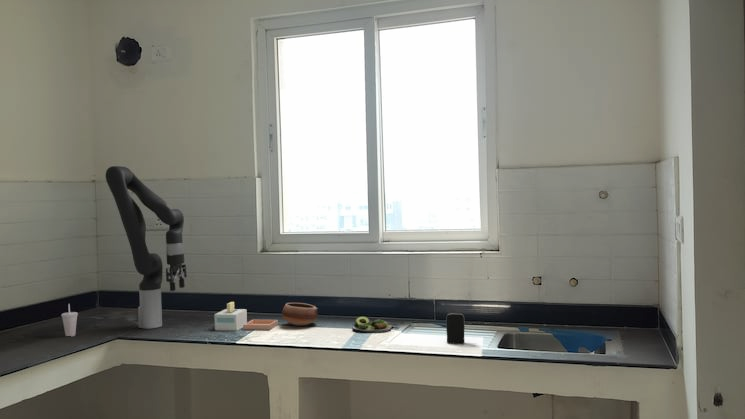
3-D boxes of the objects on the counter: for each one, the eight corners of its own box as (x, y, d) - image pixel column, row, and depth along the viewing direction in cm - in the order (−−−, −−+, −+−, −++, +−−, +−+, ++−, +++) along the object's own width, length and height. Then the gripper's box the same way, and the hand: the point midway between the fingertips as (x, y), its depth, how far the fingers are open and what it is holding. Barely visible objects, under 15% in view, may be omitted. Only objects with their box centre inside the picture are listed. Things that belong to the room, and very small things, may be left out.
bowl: (321, 327, 266) (321, 304, 266) (287, 330, 260) (286, 307, 260) (312, 320, 281) (311, 298, 280) (278, 323, 275) (278, 301, 274)
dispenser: (214, 330, 264) (214, 313, 264) (226, 324, 276) (225, 308, 276) (236, 330, 263) (236, 313, 262) (246, 324, 275) (246, 308, 274)
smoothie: (60, 338, 257) (59, 305, 256) (64, 334, 263) (62, 302, 263) (77, 336, 259) (75, 304, 258) (80, 333, 265) (78, 301, 264)
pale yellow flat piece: (227, 324, 267) (226, 303, 267) (231, 321, 272) (231, 301, 272) (230, 324, 267) (229, 303, 267) (234, 321, 272) (234, 301, 272)
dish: (243, 329, 264) (243, 324, 264) (252, 324, 275) (252, 319, 275) (269, 330, 262) (269, 325, 262) (277, 324, 273) (277, 319, 273)
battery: (465, 341, 234) (464, 312, 234) (464, 344, 230) (464, 314, 230) (447, 341, 236) (446, 312, 235) (446, 343, 232) (445, 314, 232)
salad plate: (399, 324, 269) (398, 314, 269) (396, 334, 251) (396, 323, 251) (355, 324, 271) (355, 314, 271) (350, 334, 253) (350, 323, 253)
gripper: (175, 252, 280) (177, 287, 280) (159, 255, 266) (161, 292, 266) (190, 251, 278) (192, 286, 279) (175, 254, 264) (177, 291, 265)
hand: (177, 289), depth 272 cm, fingers open, 8 cm apart
